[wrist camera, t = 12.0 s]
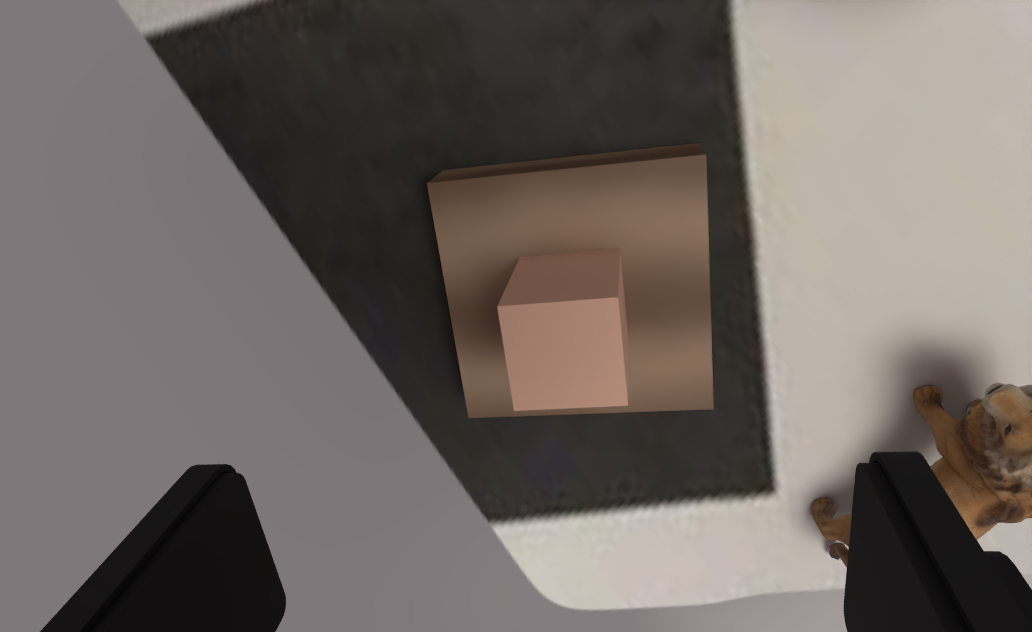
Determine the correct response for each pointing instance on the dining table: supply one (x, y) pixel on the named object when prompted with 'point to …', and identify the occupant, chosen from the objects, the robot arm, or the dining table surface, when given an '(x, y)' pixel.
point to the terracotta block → (566, 331)
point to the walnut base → (576, 228)
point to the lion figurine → (968, 462)
